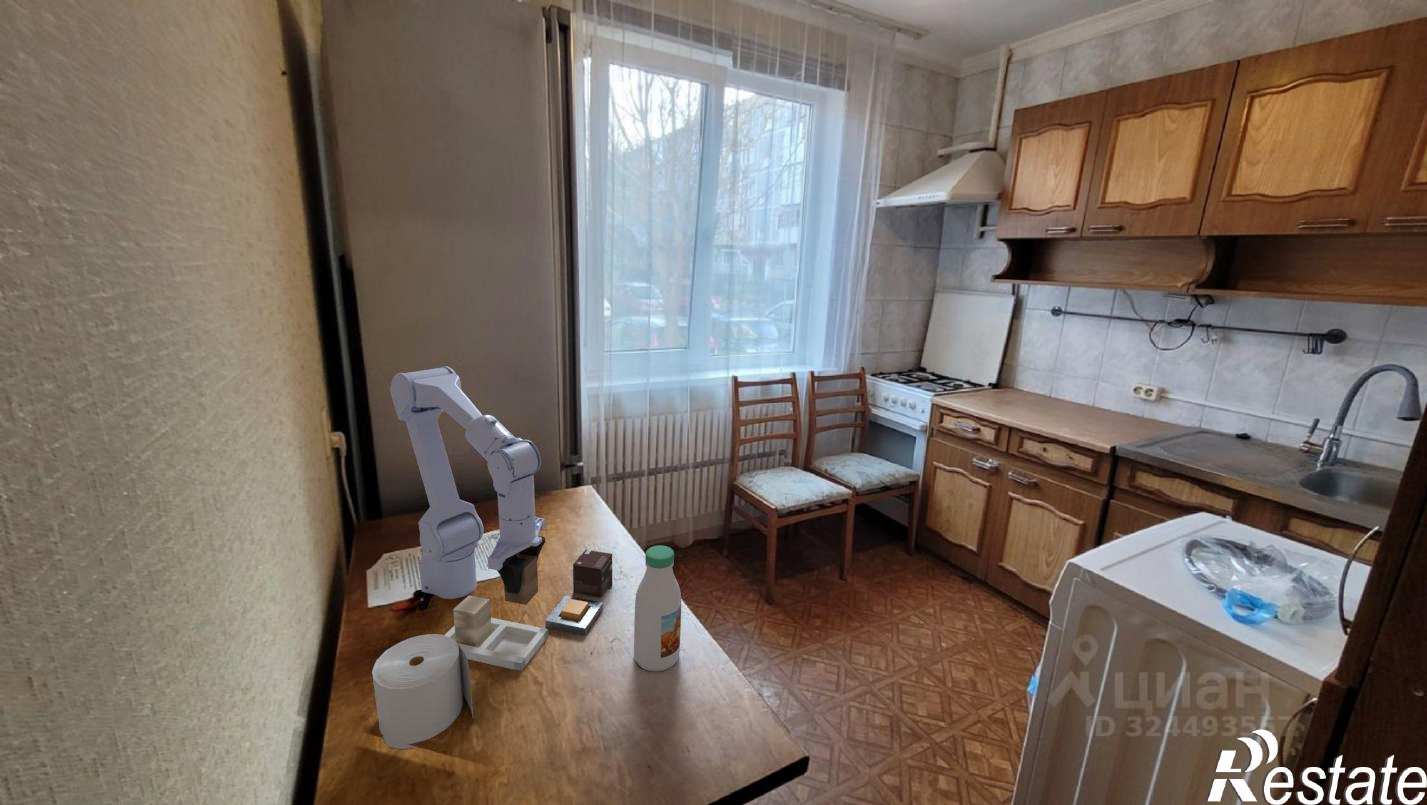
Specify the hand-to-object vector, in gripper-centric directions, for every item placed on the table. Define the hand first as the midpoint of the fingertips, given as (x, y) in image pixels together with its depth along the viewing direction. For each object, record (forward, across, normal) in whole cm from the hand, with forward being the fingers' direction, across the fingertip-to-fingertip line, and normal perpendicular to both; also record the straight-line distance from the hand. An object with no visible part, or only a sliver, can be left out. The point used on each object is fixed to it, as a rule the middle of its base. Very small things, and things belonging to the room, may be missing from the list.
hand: (520, 584), depth 95 cm
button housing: (+10, +4, -8) cm, 13 cm away
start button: (+9, +4, -8) cm, 13 cm away
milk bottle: (+10, 0, -25) cm, 27 cm away
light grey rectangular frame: (+10, -5, +2) cm, 11 cm away
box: (+10, +14, -7) cm, 19 cm away
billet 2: (+2, 0, 0) cm, 2 cm away
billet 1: (+8, -5, +6) cm, 12 cm away
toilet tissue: (+10, -20, +3) cm, 22 cm away
